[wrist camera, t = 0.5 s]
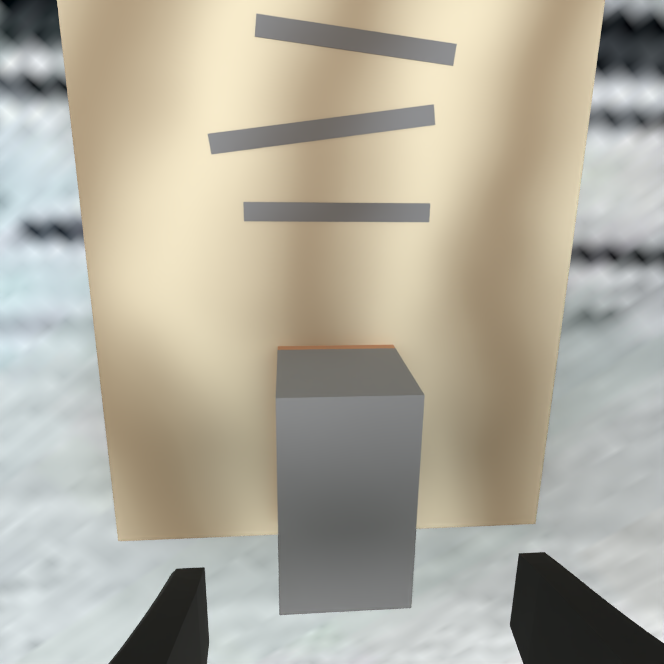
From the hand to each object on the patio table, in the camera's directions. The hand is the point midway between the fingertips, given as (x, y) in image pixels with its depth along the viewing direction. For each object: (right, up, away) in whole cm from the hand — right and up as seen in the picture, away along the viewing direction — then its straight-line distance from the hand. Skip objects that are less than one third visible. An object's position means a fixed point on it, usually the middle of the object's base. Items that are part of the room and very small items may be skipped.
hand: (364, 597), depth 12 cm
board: (-1, +11, +6) cm, 13 cm away
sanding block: (-1, +2, +7) cm, 8 cm away
